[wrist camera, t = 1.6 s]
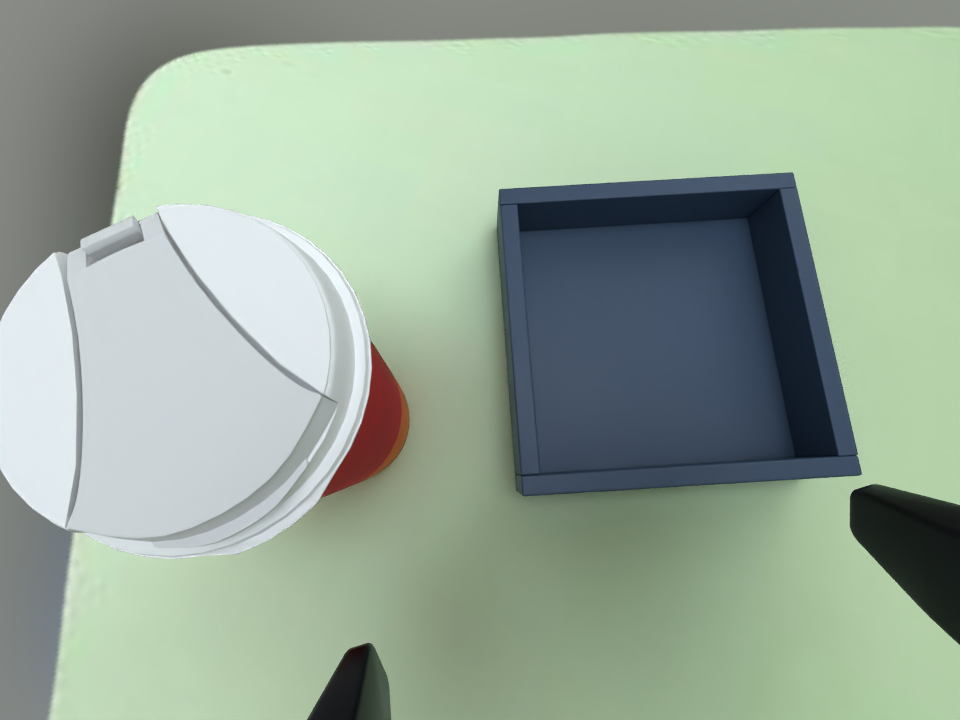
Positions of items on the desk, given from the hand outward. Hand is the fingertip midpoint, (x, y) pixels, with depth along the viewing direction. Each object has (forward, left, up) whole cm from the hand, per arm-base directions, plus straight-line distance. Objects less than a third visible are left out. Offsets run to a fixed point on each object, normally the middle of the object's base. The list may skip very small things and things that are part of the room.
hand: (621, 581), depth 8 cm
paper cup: (+2, +9, -14) cm, 17 cm away
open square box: (+9, -4, -14) cm, 17 cm away
